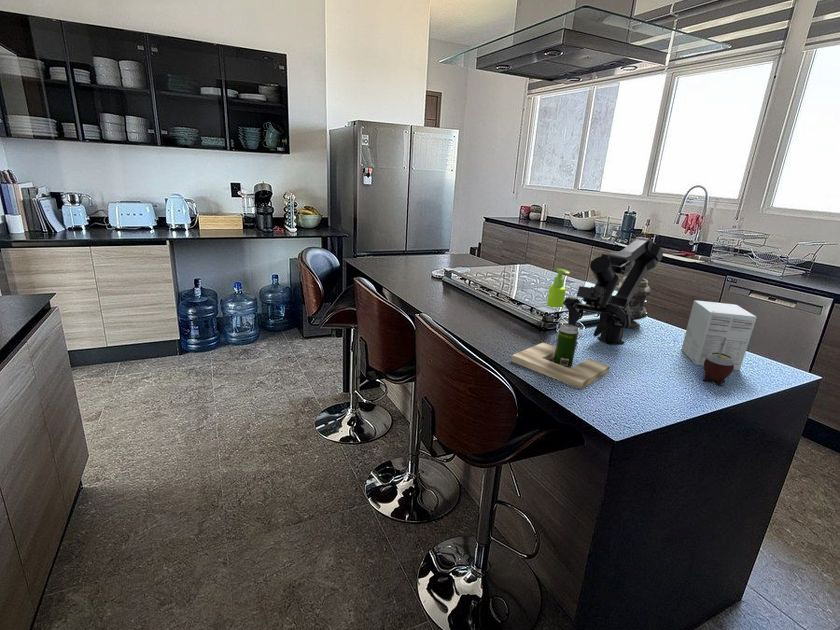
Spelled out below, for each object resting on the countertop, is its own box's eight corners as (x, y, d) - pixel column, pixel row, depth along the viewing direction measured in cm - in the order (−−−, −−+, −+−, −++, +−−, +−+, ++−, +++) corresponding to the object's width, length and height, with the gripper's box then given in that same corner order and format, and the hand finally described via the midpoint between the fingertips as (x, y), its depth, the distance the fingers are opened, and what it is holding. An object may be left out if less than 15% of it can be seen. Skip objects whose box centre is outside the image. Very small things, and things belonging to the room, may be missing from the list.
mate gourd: (717, 376, 135) (732, 328, 130) (735, 389, 127) (752, 339, 123) (693, 375, 134) (706, 327, 130) (710, 388, 127) (725, 337, 122)
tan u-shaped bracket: (542, 348, 147) (543, 342, 146) (608, 372, 133) (610, 366, 132) (511, 361, 136) (512, 355, 135) (580, 389, 121) (582, 382, 120)
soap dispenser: (553, 324, 170) (562, 272, 164) (541, 318, 176) (549, 267, 170) (565, 323, 173) (574, 271, 166) (552, 317, 179) (561, 266, 172)
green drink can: (574, 369, 133) (581, 331, 129) (555, 368, 133) (562, 329, 129) (569, 362, 138) (575, 324, 134) (551, 360, 138) (557, 323, 134)
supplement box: (741, 371, 140) (758, 317, 134) (694, 365, 142) (710, 311, 136) (722, 354, 152) (737, 304, 147) (680, 349, 154) (693, 299, 149)
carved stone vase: (634, 319, 182) (644, 275, 176) (648, 330, 170) (659, 284, 164) (604, 317, 182) (613, 273, 176) (616, 329, 170) (626, 282, 164)
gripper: (566, 272, 145) (543, 314, 142) (620, 278, 129) (596, 325, 127) (582, 291, 151) (561, 331, 148) (636, 299, 136) (613, 344, 133)
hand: (581, 332), depth 139 cm, fingers open, 9 cm apart
